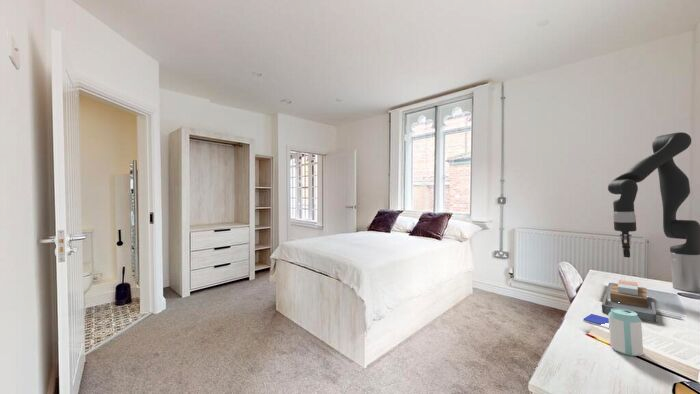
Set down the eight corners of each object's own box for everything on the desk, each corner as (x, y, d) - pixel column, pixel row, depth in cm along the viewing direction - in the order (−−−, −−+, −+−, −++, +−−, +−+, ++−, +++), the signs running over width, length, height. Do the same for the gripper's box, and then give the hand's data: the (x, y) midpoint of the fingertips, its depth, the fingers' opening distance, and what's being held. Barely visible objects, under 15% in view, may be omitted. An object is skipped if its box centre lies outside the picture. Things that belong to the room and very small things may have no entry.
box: (605, 301, 119) (604, 294, 120) (654, 309, 109) (654, 302, 109) (602, 312, 109) (601, 305, 109) (656, 323, 98) (656, 314, 98)
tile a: (619, 285, 127) (619, 280, 127) (637, 287, 123) (637, 282, 123) (618, 288, 123) (618, 283, 123) (638, 291, 119) (637, 285, 119)
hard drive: (636, 324, 96) (591, 313, 106) (628, 331, 92) (583, 318, 102) (636, 329, 96) (591, 317, 106) (629, 335, 92) (583, 322, 102)
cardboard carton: (613, 291, 131) (612, 283, 131) (646, 296, 123) (646, 287, 123) (610, 302, 118) (610, 293, 118) (647, 308, 110) (647, 298, 110)
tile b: (618, 288, 123) (618, 283, 123) (637, 291, 118) (637, 286, 118) (618, 292, 119) (617, 286, 119) (638, 295, 114) (637, 289, 114)
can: (609, 342, 87) (606, 305, 87) (640, 349, 83) (638, 310, 83) (611, 352, 82) (609, 313, 82) (645, 360, 77) (642, 318, 77)
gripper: (635, 222, 122) (638, 260, 122) (635, 220, 131) (638, 255, 131) (612, 222, 128) (615, 258, 127) (614, 219, 137) (616, 253, 136)
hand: (626, 256), depth 129 cm, fingers closed
